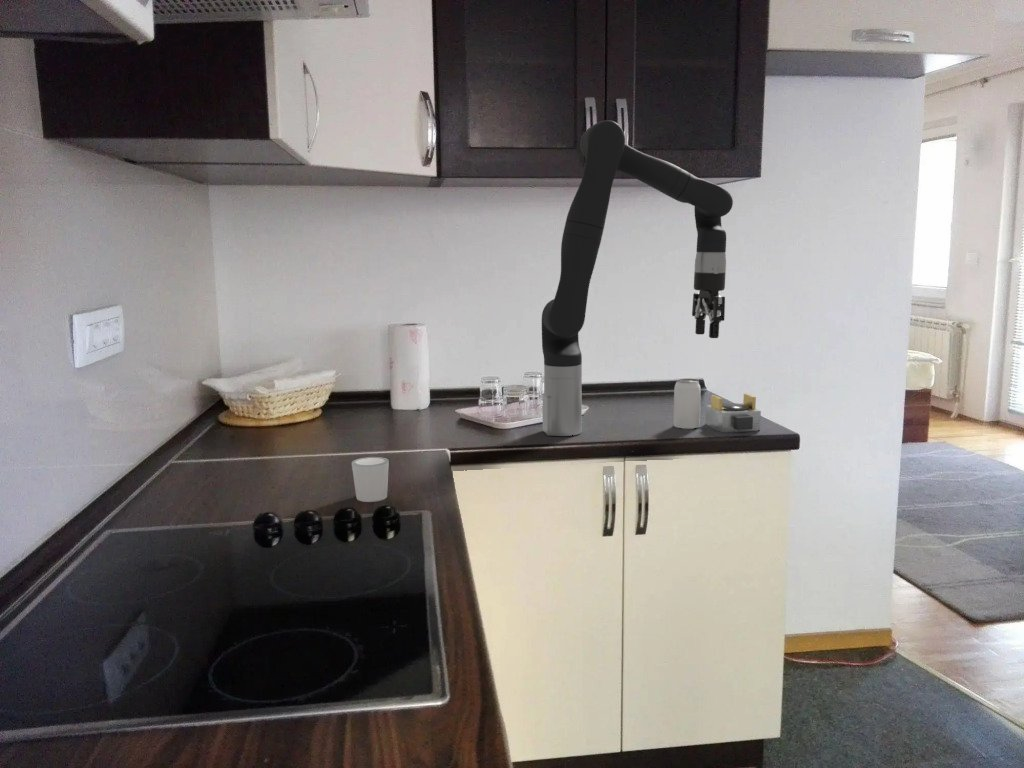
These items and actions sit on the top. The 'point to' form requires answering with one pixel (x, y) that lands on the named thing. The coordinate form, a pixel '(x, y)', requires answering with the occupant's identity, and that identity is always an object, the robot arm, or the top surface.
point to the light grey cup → (370, 478)
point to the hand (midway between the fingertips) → (706, 336)
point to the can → (687, 404)
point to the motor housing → (733, 415)
